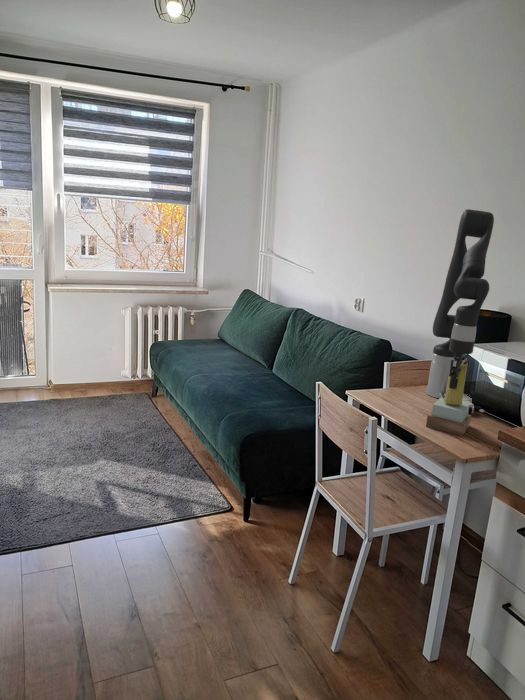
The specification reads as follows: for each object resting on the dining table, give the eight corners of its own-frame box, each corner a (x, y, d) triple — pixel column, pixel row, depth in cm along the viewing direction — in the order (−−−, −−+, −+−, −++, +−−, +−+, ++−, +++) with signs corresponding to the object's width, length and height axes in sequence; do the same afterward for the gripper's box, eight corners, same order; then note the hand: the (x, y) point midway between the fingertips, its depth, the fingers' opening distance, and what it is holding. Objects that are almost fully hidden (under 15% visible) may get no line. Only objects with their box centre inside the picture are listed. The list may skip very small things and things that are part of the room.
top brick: (438, 408, 197) (440, 397, 196) (467, 415, 192) (469, 404, 191) (431, 415, 188) (433, 404, 187) (461, 423, 183) (463, 411, 182)
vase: (466, 404, 187) (473, 364, 184) (451, 405, 185) (458, 364, 182) (453, 398, 193) (460, 359, 189) (439, 399, 190) (446, 359, 187)
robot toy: (485, 418, 205) (465, 402, 219) (487, 407, 204) (468, 391, 218) (454, 417, 203) (436, 401, 218) (456, 406, 202) (438, 390, 216)
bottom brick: (434, 417, 199) (436, 406, 198) (469, 426, 193) (471, 415, 192) (425, 426, 189) (427, 415, 188) (462, 435, 183) (464, 424, 182)
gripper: (470, 343, 176) (461, 394, 180) (478, 337, 188) (470, 384, 192) (446, 339, 180) (438, 388, 184) (456, 333, 192) (448, 379, 196)
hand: (454, 386), depth 188 cm, fingers closed on vase, 5 cm apart
